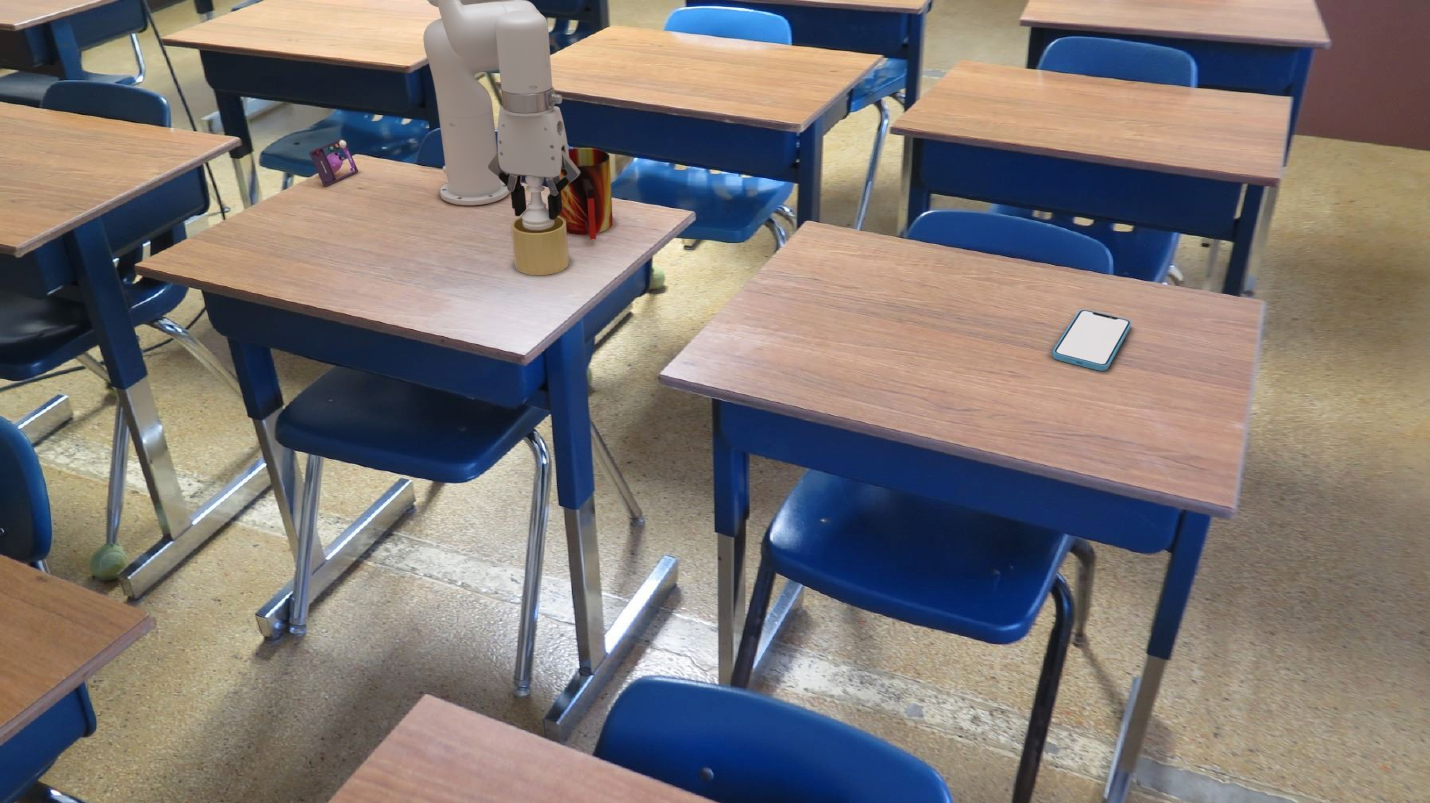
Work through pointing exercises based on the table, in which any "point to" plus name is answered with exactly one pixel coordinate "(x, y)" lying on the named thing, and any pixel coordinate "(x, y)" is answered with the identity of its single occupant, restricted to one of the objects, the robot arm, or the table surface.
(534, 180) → the chess pawn
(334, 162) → the game card
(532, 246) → the yellow cup
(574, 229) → the mug
